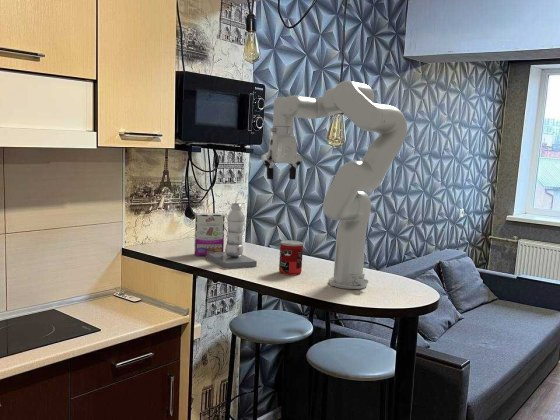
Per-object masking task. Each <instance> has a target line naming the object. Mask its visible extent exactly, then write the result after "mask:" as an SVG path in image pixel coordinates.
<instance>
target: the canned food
mask: <svg viewBox="0 0 560 420" xmlns="http://www.w3.org/2000/svg"><path fill="white" fill-rule="evenodd" d="M279 244H280V245H279V247H280V248H279V260H278V261H279V265H278V266H279V267H278V272H279V274H281V275H286V276H299V275H301V274H302V270H303V269H302V268H303V255H304V253H303V252H304V243H303V242H302V241H300V240H299V241H298V240H291V239H290V240H288V239H286V240H281V241H280V243H279Z"/></svg>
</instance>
